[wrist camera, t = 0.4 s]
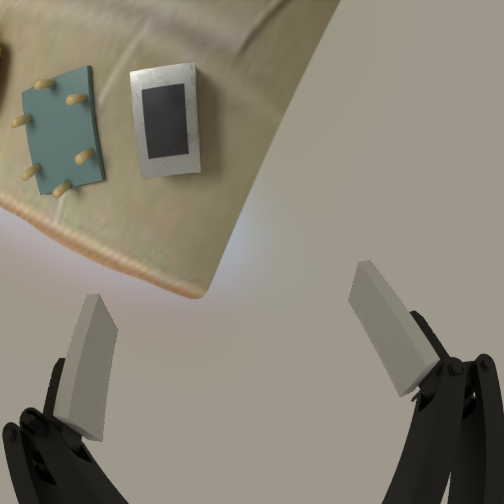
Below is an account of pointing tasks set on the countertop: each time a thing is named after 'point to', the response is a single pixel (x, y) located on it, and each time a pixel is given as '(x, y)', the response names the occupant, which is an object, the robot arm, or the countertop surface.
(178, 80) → the grey box
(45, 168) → the pegboard
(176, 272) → the countertop surface
